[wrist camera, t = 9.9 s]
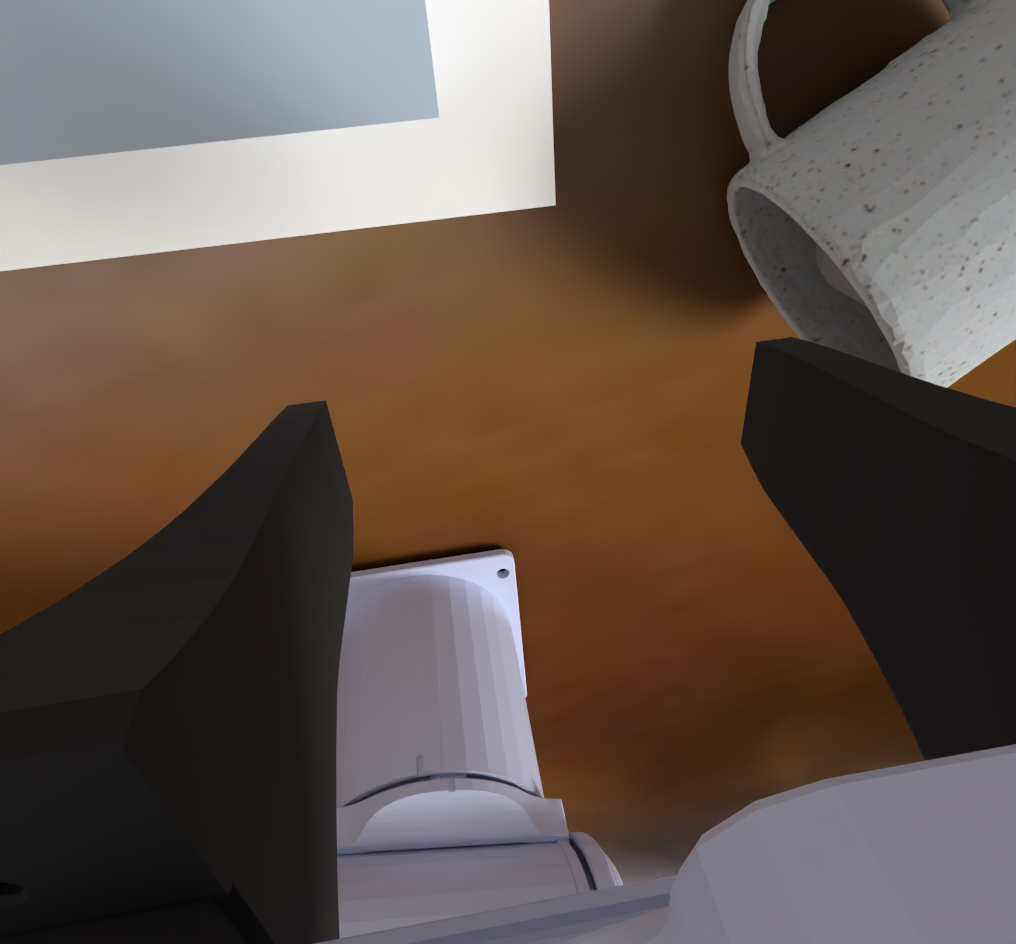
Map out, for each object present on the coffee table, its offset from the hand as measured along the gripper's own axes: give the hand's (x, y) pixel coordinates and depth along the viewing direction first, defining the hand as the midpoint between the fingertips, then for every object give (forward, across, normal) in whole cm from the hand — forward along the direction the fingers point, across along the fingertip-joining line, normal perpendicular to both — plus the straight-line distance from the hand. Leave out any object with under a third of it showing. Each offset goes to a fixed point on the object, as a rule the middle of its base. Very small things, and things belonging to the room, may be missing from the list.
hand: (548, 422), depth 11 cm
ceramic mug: (+11, -11, -2) cm, 15 cm away
